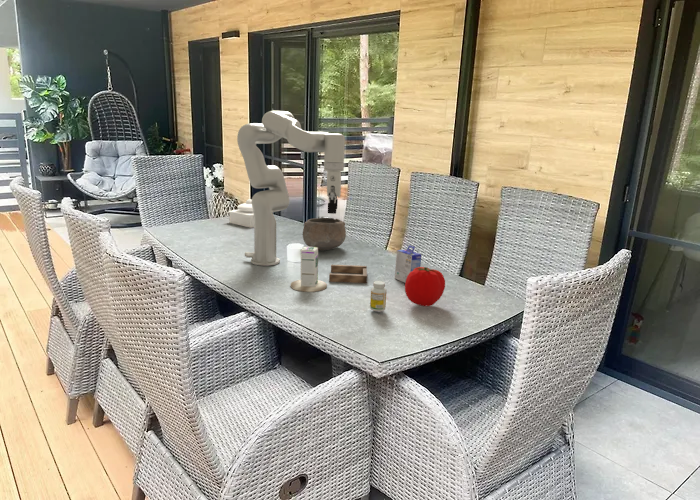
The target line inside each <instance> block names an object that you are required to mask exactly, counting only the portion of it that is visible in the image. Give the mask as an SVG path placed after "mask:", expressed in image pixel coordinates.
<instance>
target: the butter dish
mask: <svg viewBox="0 0 700 500" xmlns="http://www.w3.org/2000/svg"><path fill="white" fill-rule="evenodd" d="M228 213H229V214H228V215H229V218H228V219H229V223H230V224H233V225H239V226H243V227H246V228H254V213H253V208H252V198H248V199H246V201H245V202H244V203H240V204H238V205H237V209H233V210H228Z"/></svg>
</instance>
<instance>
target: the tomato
mask: <svg viewBox="0 0 700 500" xmlns="http://www.w3.org/2000/svg"><path fill="white" fill-rule="evenodd" d="M404 284H405V285H404V292H405V295H406V297H407V299H408V300H409V301H410V302H411V303H412V304H414V305H418V306H421V307H431V306H433V305H435V304H436V303H437V302H438V301H439V300H440V299H441V297H442V296H443V295H444V292H445V288H446V280H445V277H444V275H443V273H442V272H441V271H439V270H437V269H431V268H429V267H428V266H427V267H426V266H425V267H424V266H420V267H417V268H416V267H415V269H414V270H413V271H412V272H410V273H409V275H408V276H407V279H406V283H405V282H404Z"/></svg>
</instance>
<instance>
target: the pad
mask: <svg viewBox="0 0 700 500" xmlns="http://www.w3.org/2000/svg"><path fill="white" fill-rule="evenodd" d="M327 287H328V284H327V283H326V282H325V281H322V280H320V279H318V283H317V285H316V286H315V287H305V286H301V279H296V280H293V281H292V282H291V283H290V288H291V289H292V290H294V291H298V292H303V293H304V292H305V293H314V292H315V293H316V292H322V291H324V290H325V289H327Z"/></svg>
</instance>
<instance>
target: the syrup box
mask: <svg viewBox="0 0 700 500" xmlns="http://www.w3.org/2000/svg"><path fill="white" fill-rule="evenodd" d="M300 280H301V286H305V287H315V286H316V285H317V283H318V280H319V250H318V247H309V246H303V247H302V249H301V250H300Z"/></svg>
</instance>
